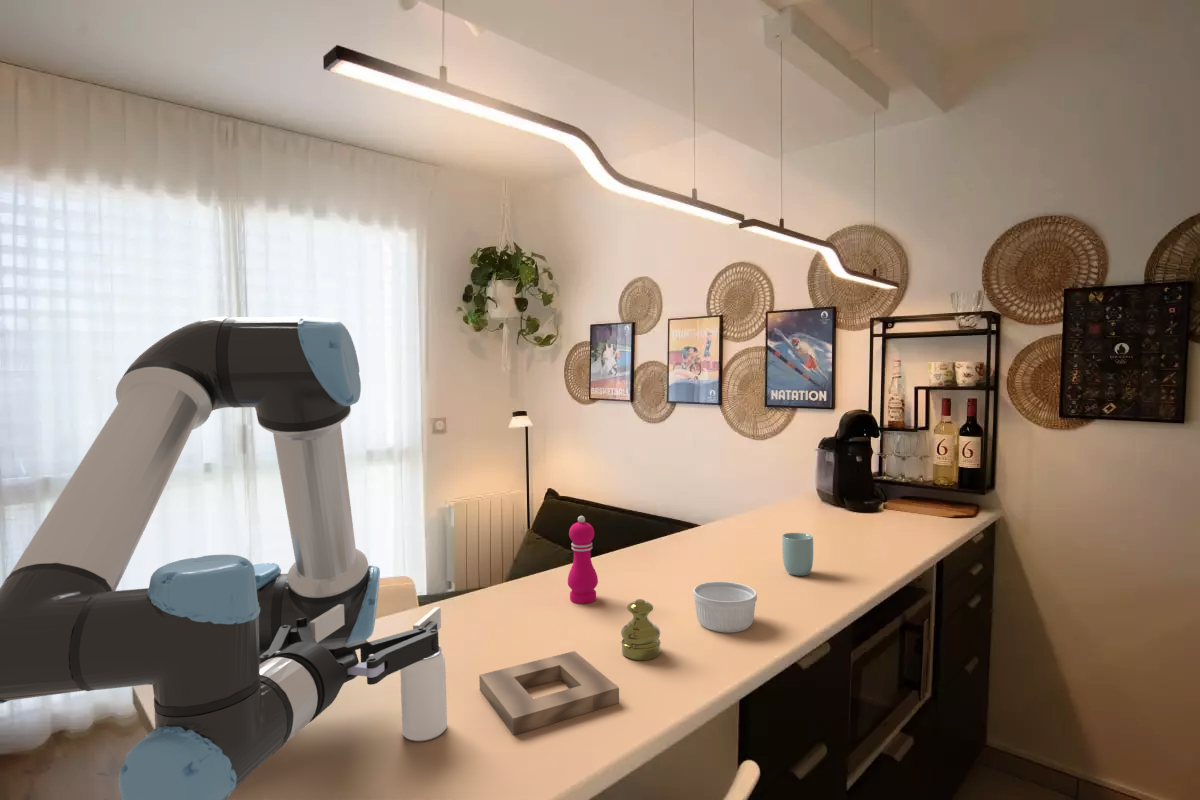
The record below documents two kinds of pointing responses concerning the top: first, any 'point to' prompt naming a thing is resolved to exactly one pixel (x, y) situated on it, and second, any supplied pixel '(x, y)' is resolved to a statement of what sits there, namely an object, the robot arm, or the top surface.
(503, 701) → the frame
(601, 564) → the top surface
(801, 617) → the top surface
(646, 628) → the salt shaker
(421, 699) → the can
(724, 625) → the ramekin
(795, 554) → the cup
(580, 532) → the pepper mill
